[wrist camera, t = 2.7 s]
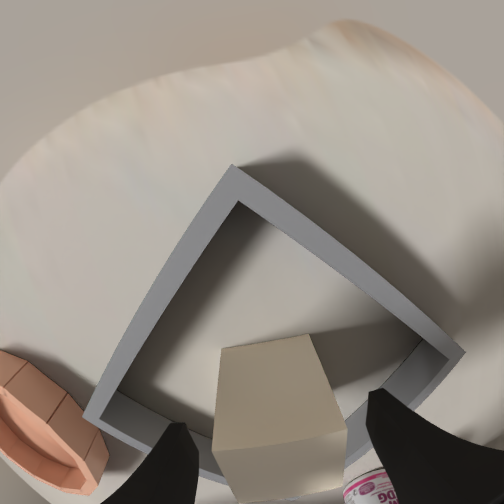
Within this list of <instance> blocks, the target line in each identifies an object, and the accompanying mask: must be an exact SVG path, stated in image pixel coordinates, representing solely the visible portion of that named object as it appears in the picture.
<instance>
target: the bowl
mask: <svg viewBox="0 0 504 504" xmlns="http://www.w3.org/2000/svg"><path fill="white" fill-rule="evenodd" d="M83 414H84V411H83V410H82V409H81V408H80V407H79V406H78V404H77V403H76V402H75V401H74V400H73V398H72V397H71V396H70V395H69V393H68V394H67V392H66V391H65V390H64V389H62V388H61V387H60V386H58V385H57V384H56V383H54V382H53V381H52V380H50V379H49V378H48V377H47V376H45V375H44V374H43V373H42V372H40V371H39V370H38V369H37V368H36V367H34V366H33V365H32V364H31V363H30V362H28V361H26V360H24V359H21V358H18V357H16V356H13V355H11V354H8V353H6V352H4V351H1V350H0V451H1V452H2V453H3V454H4V455H6V457H7V458H9V459H10V460H11V461H12V462H14V463H15V464H16V465H17V466H19V467H20V468H21V469H23V470H24V471H25V472H27V473H28V474H30V475H31V476H32V477H34V478H36V479H37V480H39V481H41V482H43V483H45V484H48V485H50V486H52V487H54V488H56V489H58V490H61V491H63V492H66V493H72V494H80V495H88V496H89V495H90V494H91V493H92V492H93V491H94V490H95V489H96V487H97V486H98V485H99V482H100V479H101V477H102V474H103V472H104V469H105V466H106V464H107V461H108V459H109V456H110V455H109V452H108V450H107V447H106V445H105V442H104V440H103V437H102V435H101V432H100V429H99V428H98V427H97V426H95V425H93V424H92V423H90V422H89V421H87V420H86V419H84V418H82V416H83Z"/></svg>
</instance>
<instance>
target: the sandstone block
mask: <svg viewBox="0 0 504 504" xmlns="http://www.w3.org/2000/svg"><path fill="white" fill-rule="evenodd" d="M347 430H348V429H347V426H346V424H345V421H344V419H343V416H342V414H341V411H340V409H339V406H338V404H337V401H336V399H335V397H334V394H333V392H332V389H331V387H330V384H329V382H328V379H327V377H326V375H325V372H324V370H323V367H322V365H321V363H320V360H319V358H318V355H317V353H316V351H315V348H314V346H313V343H312V341H311V339H310V336H309V334H305V335H300V336H295V337H290V338H285V339H279V340H274V341H268V342H262V343H256V344H250V345H244V346H237V347H230V348H223V349H221V358H220V368H219V377H218V387H217V397H216V407H215V418H214V429H213V440H212V453H213V455H214V457H215V459H216V461H217V463H218V465H219V467H220V469H221V471H222V473H223V475H224V477H225V479H226V481H227V483H228V485H229V487H230V488H231V490H232V492H233V494H234V496H235V498H236V499H237V501H238V503H251V502H262V501H271V500H278V499H285V498H292V497H297V496H303V495H308V494H313V493H318V492H322V491H327V490H331V489H335V488H339V487H342V484H343V475H344V466H345V456H346V444H347Z"/></svg>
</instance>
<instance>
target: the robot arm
mask: <svg viewBox="0 0 504 504" xmlns="http://www.w3.org/2000/svg"><path fill="white" fill-rule="evenodd" d="M365 425H366V428H367V431H368V434H369V437H370V439H371V442H372V445H373V447H374V449H375V451H376V453H377V455H378V457H379V459H380V461H381V463H382V465H383V467H384V469H385V471H386V473H387V475H388V477H389V479H390V481H391V483H392V485H393V488H394V490H395V493H396V496H397V499H398V502H399V504H504V451H502V450H497V449H492V448H488V447H484V446H481V445H478V444H475V443H471V442H468V441H466V440H463V439H461V438H458V437H456V436H454V435H452V434H450V433H448V432H446V431H444V430H442V429H440V428H439V427H437V426H435V425H434V424H432V423H430V422H429V421H427V420H426V419H424V418H423V417H421V416H420V415H418V414H417V413H415V412H414V411H413V410H411V409H410V408H408V407H407V406H406V405H405V404H403V403H402V402H401V401H399V400H398V399H397V398H396V397H394V396H393V395H392V394H391V393H389V392H388V391H387V390H386V389H384V388H380V389H377V390H374V391H370V392H369V395H368V406H367V415H366V423H365ZM198 476H199V450H198V448H197V446H196V445H195V443H194V441H193V439H192V437H191V435H190V433H189V430H188V428H187V426H186V424H185V423H170V424H169V425H168V427H167V428H166V430H165V431H164V433H163V434H162V436H161V437H160V438H159V440H158V441H157V443H156V444H155V446H154V447H153V449H152V450H151V451H150V453H149V454H148V455H147V457H146V458H145V459H144V461H143V462H142V463H141V464H140V466H139V467H138V468H137V469H136V470H135V472H134V473H133V474H132V475H131V476H130V477H129V478H128V480H127V481H126V482H125V483H124V484H123V485H122V486H121V487H120V488H119V489H117V490H116V491H115V492H114V493H113V494H112V495H111V496H109V497H108V498H107V499H106V500H105V501H103V502H102V503H101V504H194V503H195V496H196V490H197V483H198Z"/></svg>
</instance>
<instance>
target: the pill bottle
mask: <svg viewBox="0 0 504 504" xmlns="http://www.w3.org/2000/svg"><path fill="white" fill-rule="evenodd" d="M343 496H344V500H345V504H399V502H398V499H397V496H396V493H395V490H394V488H393V485H392V483H391V481H390V479H389V477H388V475H387V473H386V471H385V469H380V470H376V471H372V472H369V473H367V474H364V475H362V476H360V477H358V478H356V479H355V480H353V481H352V482H351V483H349V484H348V485H347V486H346V488H345V489H344V491H343Z"/></svg>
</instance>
